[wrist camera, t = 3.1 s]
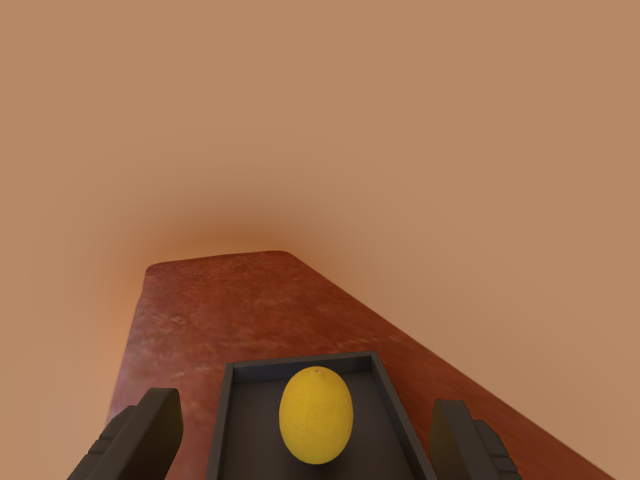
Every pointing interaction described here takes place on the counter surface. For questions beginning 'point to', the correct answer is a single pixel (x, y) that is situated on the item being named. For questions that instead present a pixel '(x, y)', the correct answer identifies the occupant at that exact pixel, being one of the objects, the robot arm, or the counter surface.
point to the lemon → (316, 415)
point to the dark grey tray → (266, 439)
